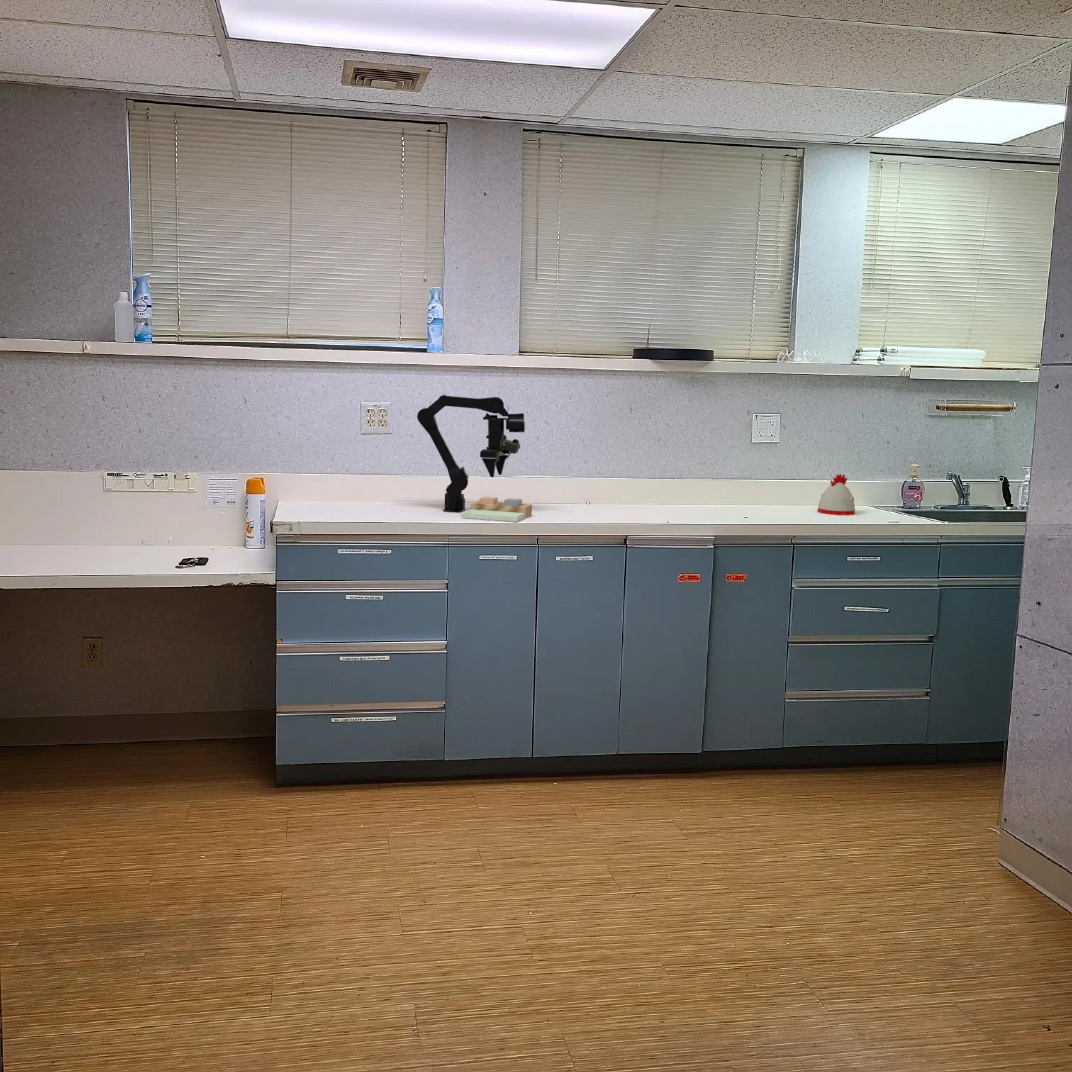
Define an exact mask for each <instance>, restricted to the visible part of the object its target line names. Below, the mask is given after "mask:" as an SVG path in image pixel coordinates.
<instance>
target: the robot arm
mask: <svg viewBox="0 0 1072 1072" xmlns="http://www.w3.org/2000/svg"><path fill="white" fill-rule="evenodd" d="M445 407H453V408H463V409H476V410H480V411H484V412H486V413H485V415H484V416H483V417H482V420H484V421H487V435H486V437H485V439H487V446H486V448H484V449H481V450H480V451H479V457H480V458H481V460H482V461H483V464H484V466H485V468H486V470H487V473H488V475H489V477H490V478H494V477H495V472H497V474H498V475H499V476H501V475H502V474H503V471H504V466H505V464H506V460H507V459H508V458H509V457H510V456H511V455H512V454H513V455H515V454H518V453H519V449H521V443H520V441H519V439H516V438H514V439H513V440H509V439H507V435H506V434H505V430H506V431H508V433H525V432H526V431H525V430H526V429H525V428H526V426H525V424H526V423H525V414H524V413H523V412H521V413H509V411H508V410H507V409H506V408H505V402H504V401H503V399H502V398H501V397H500V396H491V397H490V396H489V397H480V398H479V397H477V398H475V397H465V396H452V395H446V394H442V395H440V396H439V397H438V398H437V400H435V401H434V402H433V403H431V404H430V405H429V406H428V407H423V408H422V409H420V410H418V412H417V415H416V419H417V421H418V422H419V424H420V425H421V427H422V428H423V429H424V430H425V431H426V432H427V434H428V435H429V437H430V439H431V441H432V442H433V444H434V446H435V447H436V450H437V452H438V454H439V455H440V457H441V459H442V461H443V463H444V465H445V467H446V469H447V473H448V476H449V479H450V483H449V484H448V485H447V486H446V488H445V492H446V493H444V509H442V512H454V513H462V512H464V511H466V498H465V494H464V493H462V492H463V491H464V490H466V488H467V487H468V485H469V477H470V476H469V474H468V473H467V472H466V470H465V466H464V465H463V466H462V467H460V466H459V464H458V463H457V462H456V460H455V458H454V456H453V454H452V453H451V450H450V449H449V446H448V444H447V443H446V440H445V439H444V437H443V434H442V433H441V431H440V429H439V426H438V422H437V418H436V415H437V414H438V413H439V412H440V411H441V410H443V409H444V408H445ZM489 413H491V414H489ZM498 414H499V416H502V417H498Z"/></svg>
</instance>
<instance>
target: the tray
mask: <svg viewBox="0 0 1072 1072" xmlns="http://www.w3.org/2000/svg"><path fill="white" fill-rule="evenodd" d="M460 518H461V519H462V518H465V519H464V520H476V519H486V520H485V521H490V520H496V521H495V522H503V523H504V522H506V523H518V522H521V521H523V520H525V519H526V518H525V513H516V512H501V511H487V510H473V509H471V508H470V509H467V510H464V511H461V512H460Z"/></svg>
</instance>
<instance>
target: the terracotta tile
mask: <svg viewBox="0 0 1072 1072" xmlns="http://www.w3.org/2000/svg"><path fill="white" fill-rule="evenodd" d="M498 499H499V498H498V497H496V496H481V497H480V498H479V501H480V504H491V505H494V504H496V503H498V502H499V501H498Z"/></svg>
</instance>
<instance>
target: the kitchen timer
mask: <svg viewBox="0 0 1072 1072" xmlns="http://www.w3.org/2000/svg"><path fill="white" fill-rule="evenodd" d="M832 479H833V480H831V479H830V485H829V486H827V488H826V489H825V490H824V492H823V493H821V495H820V499H819V502H818V506H817V513H820V514H824V515H831V516H853V515H855V510H856V507H855V506H856V505H855V497H854V496H853V494H852V492H851V491H850V489H849V488H848V487H847V485H846V483H847V481H848V477H846V475H845V474H836V475H835V477H832Z"/></svg>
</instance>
